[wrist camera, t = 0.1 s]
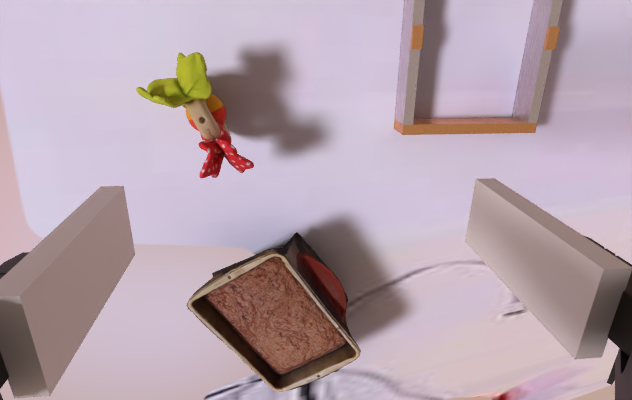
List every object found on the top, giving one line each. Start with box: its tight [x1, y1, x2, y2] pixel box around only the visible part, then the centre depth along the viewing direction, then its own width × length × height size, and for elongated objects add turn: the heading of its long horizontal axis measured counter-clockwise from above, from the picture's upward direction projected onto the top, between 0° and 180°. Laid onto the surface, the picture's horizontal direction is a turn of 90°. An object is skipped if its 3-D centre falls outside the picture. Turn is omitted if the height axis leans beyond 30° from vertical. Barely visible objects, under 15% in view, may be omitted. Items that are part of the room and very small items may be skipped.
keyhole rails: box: [394, 0, 563, 135], centre depth 39 cm, size 22×16×3 cm
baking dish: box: [187, 233, 361, 392], centre depth 46 cm, size 14×18×10 cm
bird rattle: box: [136, 52, 254, 178], centre depth 37 cm, size 6×11×9 cm, turn 34°
